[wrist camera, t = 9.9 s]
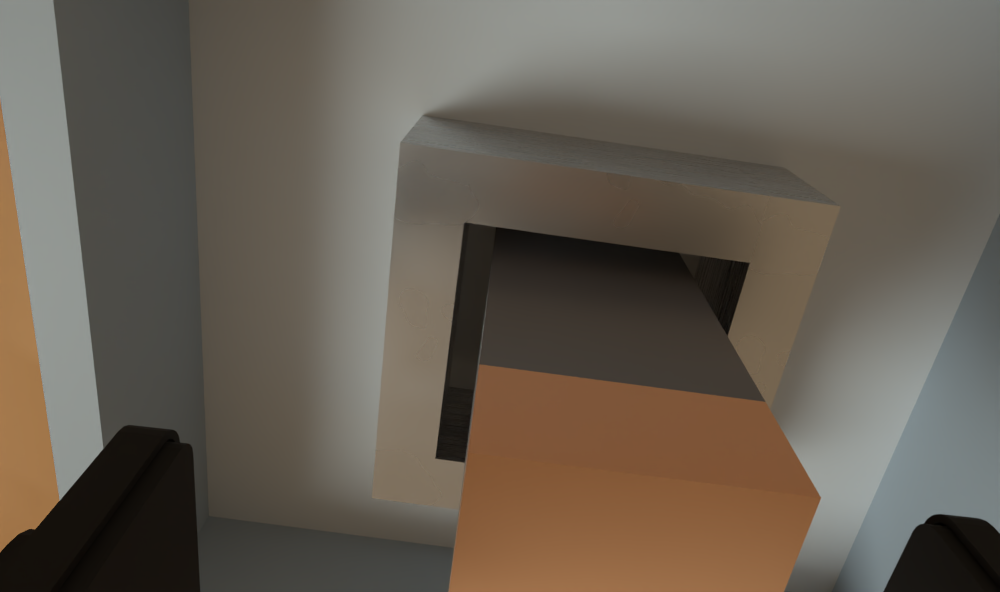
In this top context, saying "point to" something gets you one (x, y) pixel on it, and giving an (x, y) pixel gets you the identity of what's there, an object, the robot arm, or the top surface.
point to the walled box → (485, 241)
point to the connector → (618, 434)
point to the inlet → (584, 215)
